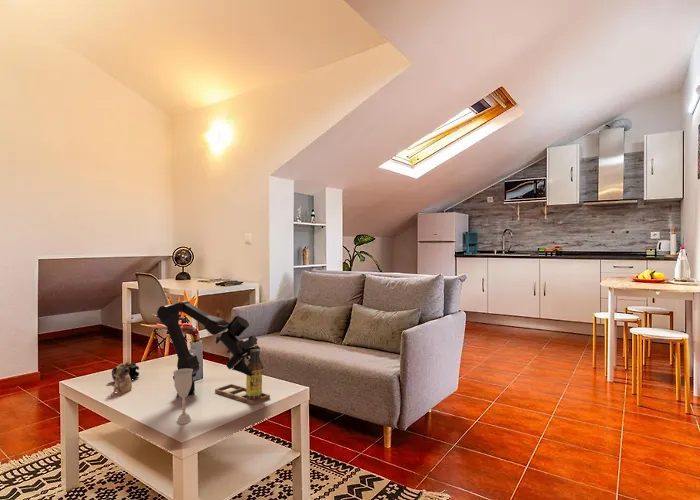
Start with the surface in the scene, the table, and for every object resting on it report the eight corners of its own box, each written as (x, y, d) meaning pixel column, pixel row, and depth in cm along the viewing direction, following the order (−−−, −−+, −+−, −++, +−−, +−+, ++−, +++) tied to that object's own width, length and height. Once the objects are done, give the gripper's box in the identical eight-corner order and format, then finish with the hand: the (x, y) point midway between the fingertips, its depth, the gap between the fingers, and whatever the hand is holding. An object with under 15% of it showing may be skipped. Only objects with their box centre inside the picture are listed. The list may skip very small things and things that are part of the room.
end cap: (133, 375, 208) (132, 362, 208) (140, 378, 204) (139, 364, 204) (111, 381, 201) (111, 366, 200) (118, 384, 196) (118, 369, 196)
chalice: (177, 417, 156) (176, 368, 156) (196, 416, 157) (195, 368, 156) (170, 425, 149) (169, 374, 148) (190, 424, 149) (189, 374, 149)
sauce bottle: (250, 402, 168) (249, 352, 168) (243, 398, 173) (243, 349, 173) (264, 399, 172) (264, 350, 172) (258, 394, 177) (257, 347, 177)
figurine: (111, 390, 187) (110, 363, 186) (128, 386, 192) (127, 360, 192) (116, 394, 182) (116, 366, 182) (134, 390, 187) (133, 363, 187)
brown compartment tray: (215, 392, 182) (215, 389, 182) (231, 387, 189) (231, 383, 189) (253, 405, 167) (253, 401, 167) (269, 398, 174) (269, 394, 174)
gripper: (232, 335, 165) (258, 365, 162) (255, 326, 183) (279, 353, 180) (215, 354, 167) (240, 384, 164) (239, 343, 185) (263, 370, 182)
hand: (257, 372), depth 172 cm, fingers open, 9 cm apart
